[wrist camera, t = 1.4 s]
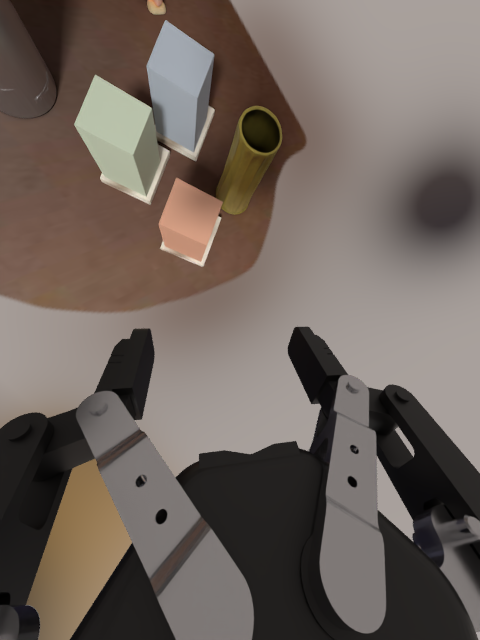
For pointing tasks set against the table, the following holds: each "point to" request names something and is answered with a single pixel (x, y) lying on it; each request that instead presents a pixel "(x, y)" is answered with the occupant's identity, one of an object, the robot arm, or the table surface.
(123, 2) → the table surface
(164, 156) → the block bases
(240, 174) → the vase
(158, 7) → the grandmother figurine
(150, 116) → the sage block
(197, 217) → the terracotta block
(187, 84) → the slate block
